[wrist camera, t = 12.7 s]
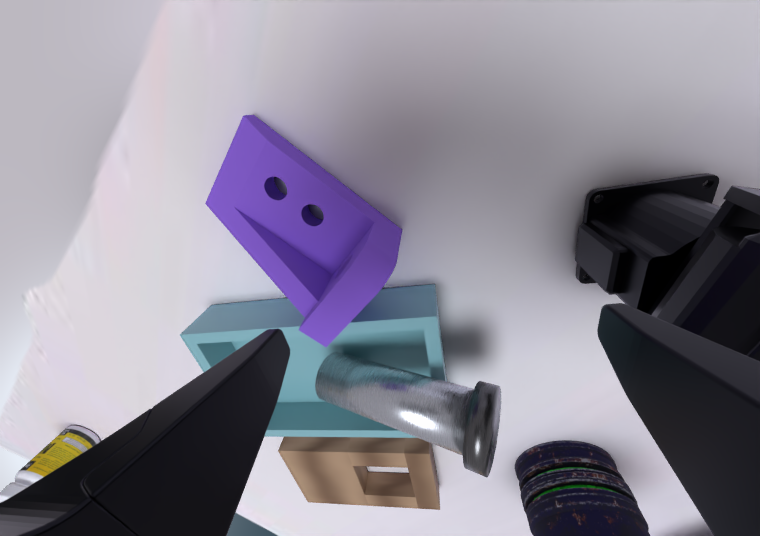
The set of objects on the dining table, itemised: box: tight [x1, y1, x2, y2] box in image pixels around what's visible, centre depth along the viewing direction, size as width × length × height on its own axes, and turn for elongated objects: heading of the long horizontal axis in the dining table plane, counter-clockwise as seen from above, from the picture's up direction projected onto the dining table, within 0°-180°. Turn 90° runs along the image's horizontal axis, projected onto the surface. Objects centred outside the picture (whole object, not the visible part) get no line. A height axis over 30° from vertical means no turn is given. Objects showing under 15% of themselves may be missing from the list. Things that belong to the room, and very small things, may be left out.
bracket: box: [205, 115, 402, 347], centre depth 19 cm, size 12×7×7 cm, turn 53°
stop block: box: [278, 437, 440, 510], centre depth 34 cm, size 16×11×2 cm, turn 101°
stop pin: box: [315, 352, 501, 477], centre depth 22 cm, size 5×5×13 cm
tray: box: [180, 284, 447, 438], centre depth 26 cm, size 20×13×4 cm, turn 101°
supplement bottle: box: [0, 426, 100, 503], centre depth 38 cm, size 5×5×8 cm
